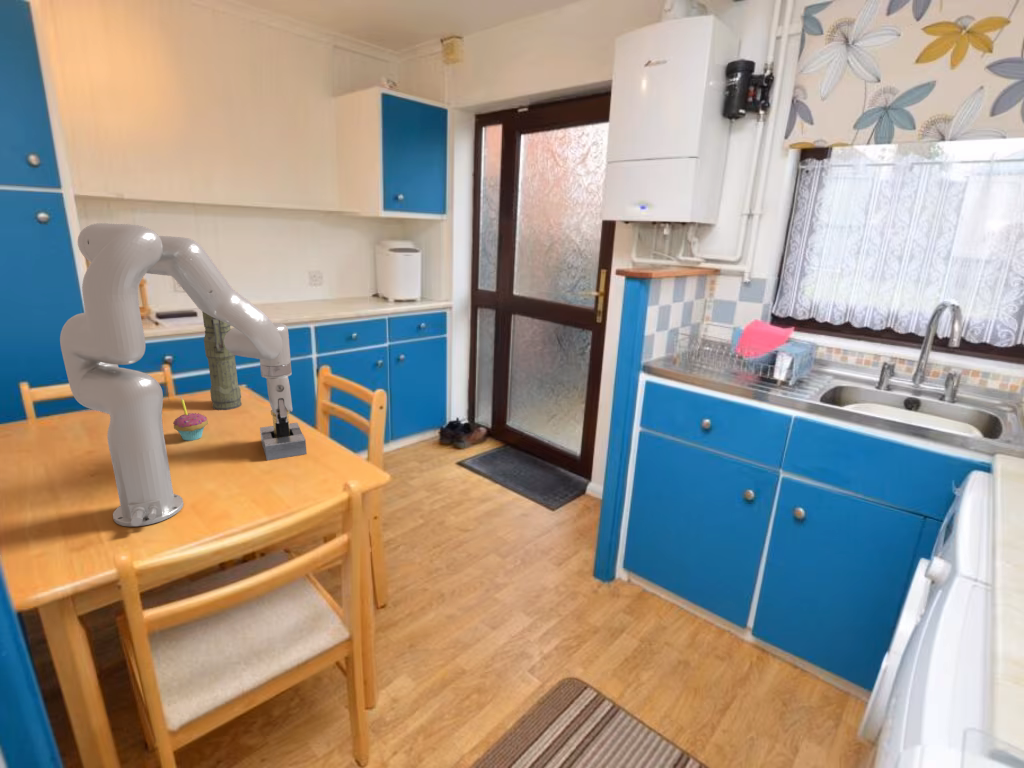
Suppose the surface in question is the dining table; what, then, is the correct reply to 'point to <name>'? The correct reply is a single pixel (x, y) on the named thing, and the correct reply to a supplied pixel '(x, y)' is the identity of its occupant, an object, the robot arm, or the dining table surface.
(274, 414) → the brass capped cylinder
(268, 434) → the jig
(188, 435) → the cupcake
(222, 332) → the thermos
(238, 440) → the dining table surface
